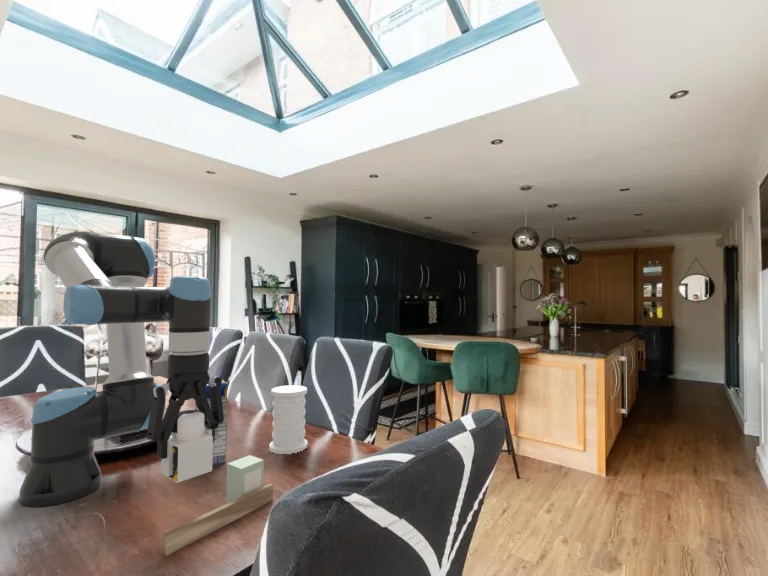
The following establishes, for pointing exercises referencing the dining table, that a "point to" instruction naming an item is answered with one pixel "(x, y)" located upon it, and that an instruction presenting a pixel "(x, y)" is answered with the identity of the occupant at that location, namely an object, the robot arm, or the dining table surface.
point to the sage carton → (244, 476)
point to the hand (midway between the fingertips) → (187, 466)
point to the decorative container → (288, 419)
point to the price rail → (215, 519)
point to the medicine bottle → (190, 446)
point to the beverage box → (219, 428)
